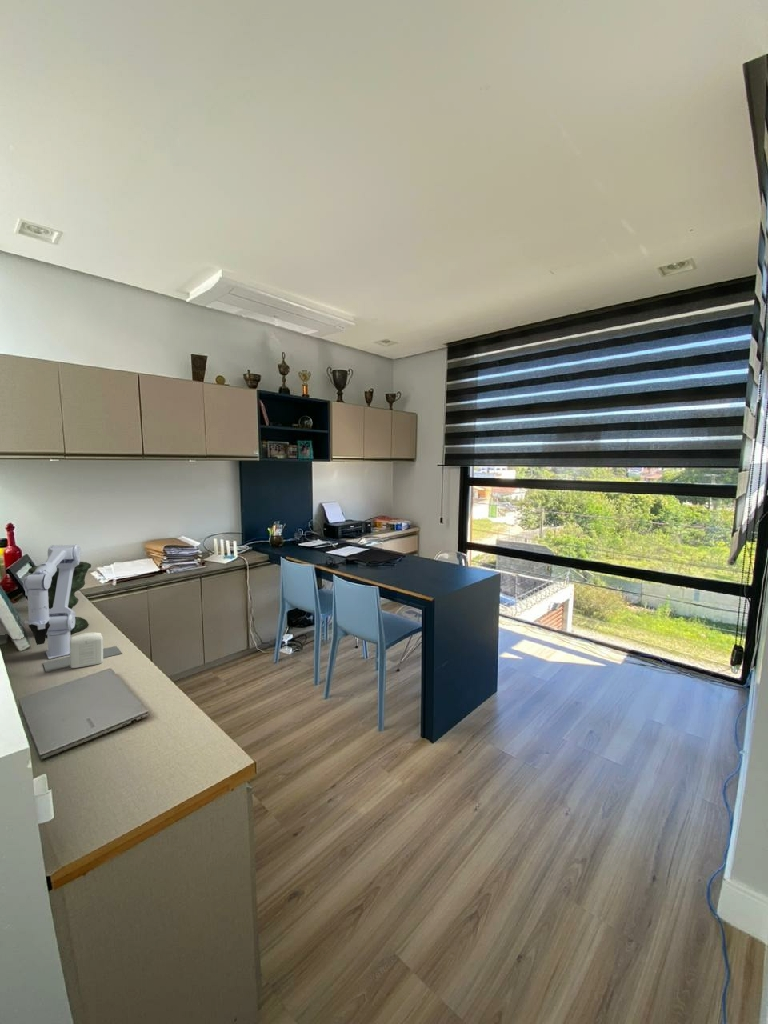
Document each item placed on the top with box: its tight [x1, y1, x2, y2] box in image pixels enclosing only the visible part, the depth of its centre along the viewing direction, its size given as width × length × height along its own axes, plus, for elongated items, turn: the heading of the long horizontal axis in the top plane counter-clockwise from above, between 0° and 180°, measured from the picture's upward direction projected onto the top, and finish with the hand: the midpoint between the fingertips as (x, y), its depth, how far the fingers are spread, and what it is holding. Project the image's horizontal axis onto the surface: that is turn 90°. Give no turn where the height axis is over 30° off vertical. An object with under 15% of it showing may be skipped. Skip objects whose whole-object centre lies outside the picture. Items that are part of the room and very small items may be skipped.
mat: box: [42, 645, 123, 673], centre depth 164 cm, size 10×24×1 cm, turn 135°
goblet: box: [27, 561, 92, 638], centre depth 191 cm, size 22×23×30 cm
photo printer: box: [69, 632, 104, 669], centre depth 158 cm, size 10×4×12 cm, turn 123°
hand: (40, 643), depth 152 cm, fingers closed
